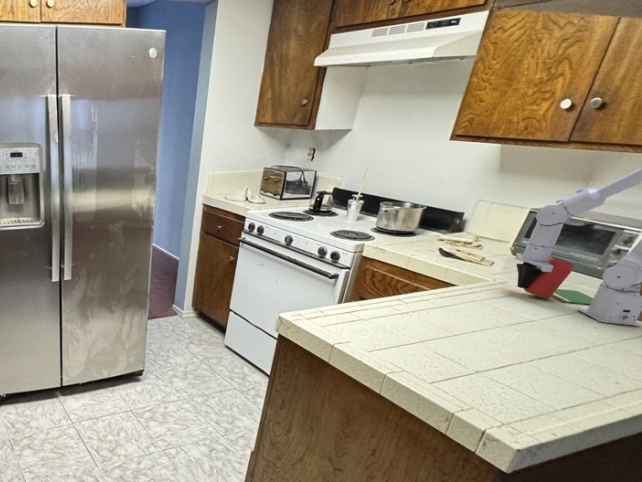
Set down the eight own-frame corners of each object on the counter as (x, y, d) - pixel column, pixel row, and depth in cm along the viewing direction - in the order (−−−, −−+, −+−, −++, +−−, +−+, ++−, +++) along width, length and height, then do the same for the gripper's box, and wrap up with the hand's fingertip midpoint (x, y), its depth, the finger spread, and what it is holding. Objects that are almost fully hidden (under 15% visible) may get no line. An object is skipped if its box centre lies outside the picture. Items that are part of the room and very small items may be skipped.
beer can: (536, 293, 149) (564, 259, 144) (553, 301, 143) (583, 266, 138) (517, 287, 149) (544, 253, 144) (533, 295, 143) (562, 259, 138)
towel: (608, 307, 139) (609, 305, 139) (563, 302, 142) (564, 300, 142) (576, 292, 152) (577, 290, 151) (535, 288, 154) (535, 286, 154)
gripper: (511, 238, 149) (494, 279, 154) (539, 249, 136) (520, 293, 141) (538, 240, 147) (520, 281, 152) (569, 252, 134) (549, 296, 139)
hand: (522, 287), depth 146 cm, fingers closed, pressing on beer can
